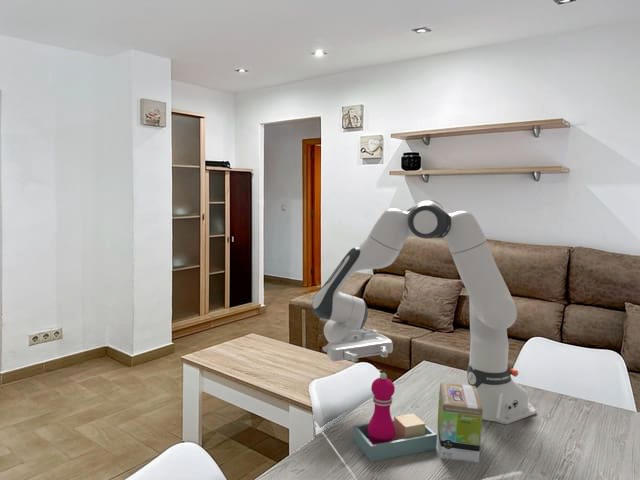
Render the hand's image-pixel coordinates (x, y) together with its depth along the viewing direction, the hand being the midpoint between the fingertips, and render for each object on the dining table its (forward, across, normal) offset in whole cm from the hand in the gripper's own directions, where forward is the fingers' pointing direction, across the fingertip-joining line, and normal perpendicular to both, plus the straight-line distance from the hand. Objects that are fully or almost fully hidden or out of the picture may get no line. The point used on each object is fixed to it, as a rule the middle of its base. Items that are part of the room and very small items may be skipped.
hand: (371, 356), depth 136 cm
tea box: (+18, +16, +21) cm, 32 cm away
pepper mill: (+13, -4, +20) cm, 24 cm away
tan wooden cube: (+13, +5, +20) cm, 24 cm away
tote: (+13, 0, +20) cm, 24 cm away
